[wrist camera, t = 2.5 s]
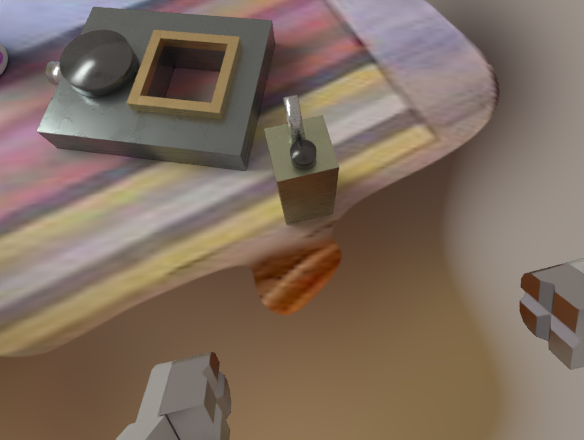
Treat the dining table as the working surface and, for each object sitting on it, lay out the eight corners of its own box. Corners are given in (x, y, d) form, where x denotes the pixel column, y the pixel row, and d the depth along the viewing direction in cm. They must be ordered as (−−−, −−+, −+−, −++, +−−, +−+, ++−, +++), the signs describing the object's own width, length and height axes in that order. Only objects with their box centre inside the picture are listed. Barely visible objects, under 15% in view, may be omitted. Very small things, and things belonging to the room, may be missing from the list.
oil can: (286, 224, 34) (272, 163, 23) (274, 175, 35) (256, 96, 24) (332, 213, 34) (341, 146, 23) (318, 164, 36) (320, 81, 25)
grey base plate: (35, 145, 38) (0, 119, 34) (87, 27, 43) (63, -8, 39) (245, 170, 36) (236, 146, 31) (274, 43, 41) (270, 7, 37)
